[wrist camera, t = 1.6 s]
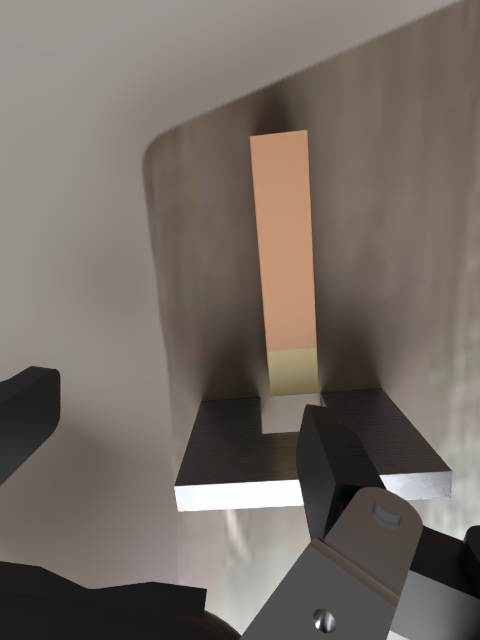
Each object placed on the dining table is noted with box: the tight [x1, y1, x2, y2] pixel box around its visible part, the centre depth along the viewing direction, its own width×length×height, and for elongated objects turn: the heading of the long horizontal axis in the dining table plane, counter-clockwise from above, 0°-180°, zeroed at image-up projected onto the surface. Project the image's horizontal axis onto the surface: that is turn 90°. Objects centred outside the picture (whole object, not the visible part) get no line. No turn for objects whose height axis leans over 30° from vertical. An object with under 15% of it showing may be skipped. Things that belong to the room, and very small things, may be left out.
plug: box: [250, 130, 319, 396], centre depth 28 cm, size 4×20×5 cm, turn 6°
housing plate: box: [174, 389, 452, 511], centre depth 28 cm, size 18×2×12 cm, turn 96°
